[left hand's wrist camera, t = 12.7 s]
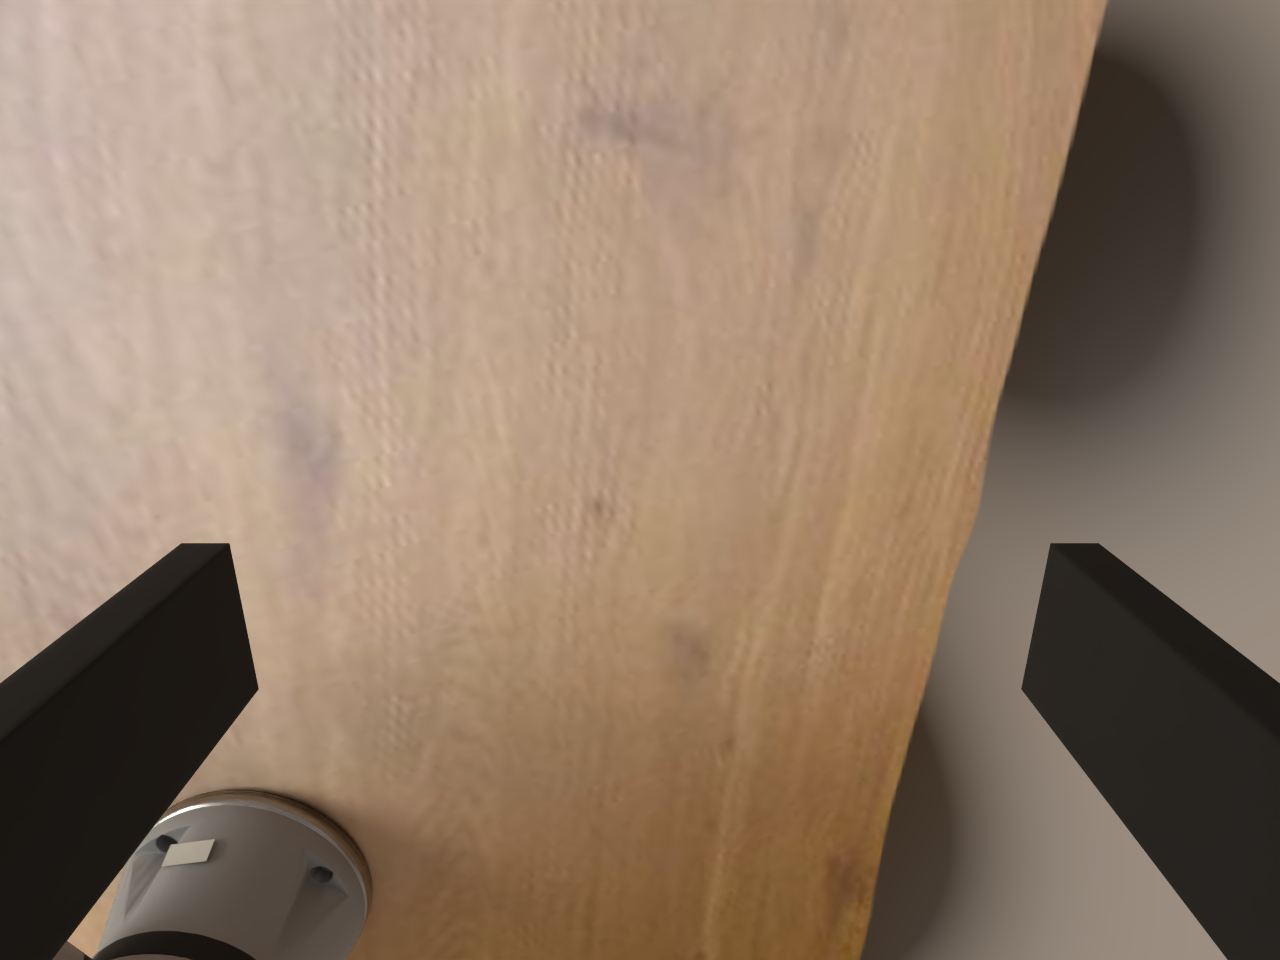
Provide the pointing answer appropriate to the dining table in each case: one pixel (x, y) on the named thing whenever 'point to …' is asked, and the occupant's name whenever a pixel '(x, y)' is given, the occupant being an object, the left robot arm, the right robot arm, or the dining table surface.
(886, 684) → the dining table surface
